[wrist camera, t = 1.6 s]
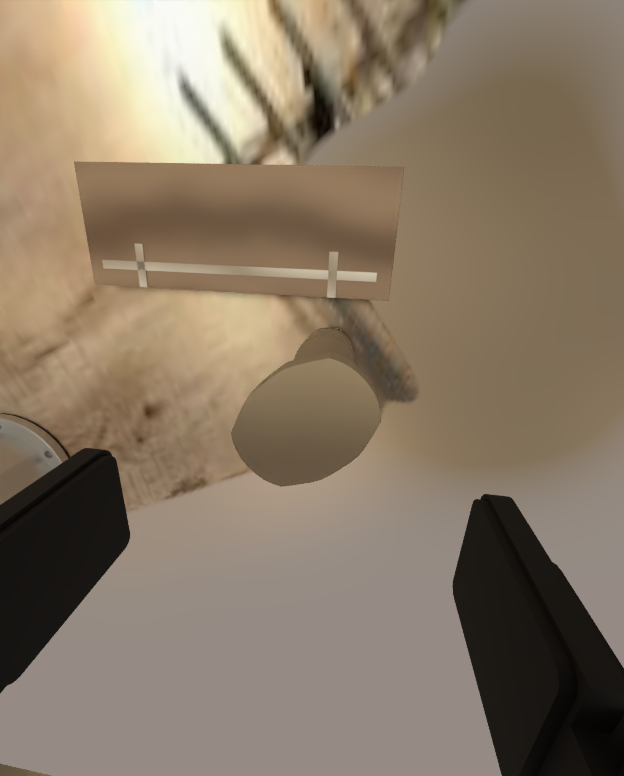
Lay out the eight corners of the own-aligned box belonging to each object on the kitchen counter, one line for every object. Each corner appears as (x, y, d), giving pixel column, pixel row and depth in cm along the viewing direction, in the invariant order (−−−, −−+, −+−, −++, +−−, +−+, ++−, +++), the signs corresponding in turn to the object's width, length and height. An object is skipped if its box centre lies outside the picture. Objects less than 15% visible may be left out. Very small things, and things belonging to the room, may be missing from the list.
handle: (380, 343, 28) (404, 428, 14) (318, 389, 30) (283, 504, 16) (343, 295, 27) (327, 333, 13) (282, 345, 29) (209, 426, 15)
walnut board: (386, 297, 26) (388, 300, 24) (116, 282, 29) (93, 284, 26) (399, 176, 23) (404, 166, 21) (99, 170, 26) (72, 161, 23)
